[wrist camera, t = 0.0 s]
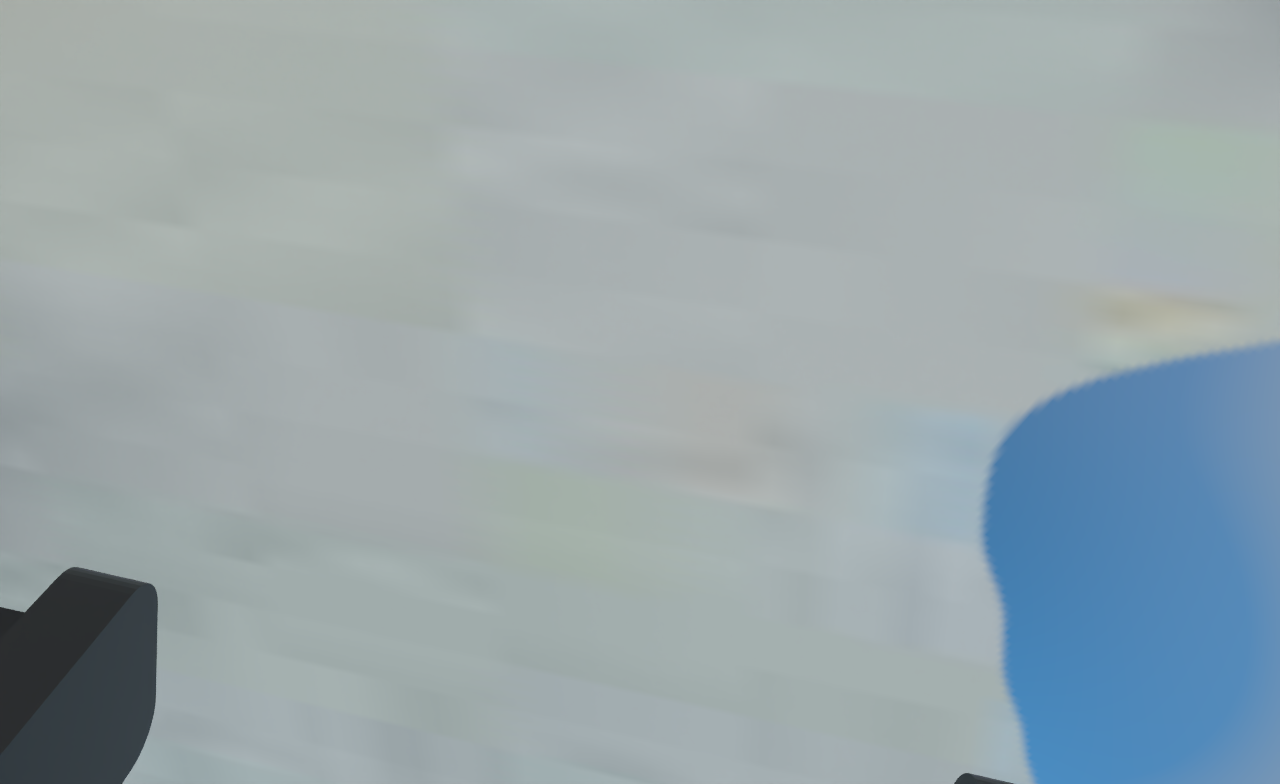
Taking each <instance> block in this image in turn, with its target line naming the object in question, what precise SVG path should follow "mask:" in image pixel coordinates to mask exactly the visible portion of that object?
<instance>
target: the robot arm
mask: <svg viewBox="0 0 1280 784" xmlns="http://www.w3.org/2000/svg"><path fill="white" fill-rule="evenodd" d="M157 612H158V599H157V592H156V590H155V587H154V586H153V585H151V584H149V583H145V582H140V581H136V580H132V579H127V578H123V577H118V576H114V575H110V574H105V573H101V572H96V571H92V570H88V569H83V568H79V567H73V568H70V569H68V570H66V571H65V572H63V573H62V574H61V575H60V576H59V577H58V578H57V579H56V580H55V581H54V582H53V583H52V584H51V585H50V586H49V587H48V589H47V590H46V591H45V592H44V593H43V594H42V595H41V596H40V597H39V598H38V599H37V600H36V601H35V602H34V603H33V604H32V606H31V607H30V608H29V609H28V610H27V611H26V612H25V613H24V612H20V611H15V610H11V609H6V608H2V607H0V784H122V783H123V781H124V780H125V778H126V777H127V775H128V774H129V772H130V771H131V769H132V767H133V766H134V764H135V762H136V761H137V759H138V757H139V755H140V753H141V751H142V748H143V746H144V744H145V741H146V739H147V736H148V733H149V730H150V726H151V723H152V719H153V715H154V709H155V700H156V659H157ZM954 784H1013V783H1009V782H1004V781H1000V780H996V779H991V778H987V777H983V776H978V775H974V774H969V773H965V774H962V775H961V776H960V777H959V778H958V779H957V780H956V782H955V783H954Z"/></svg>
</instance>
